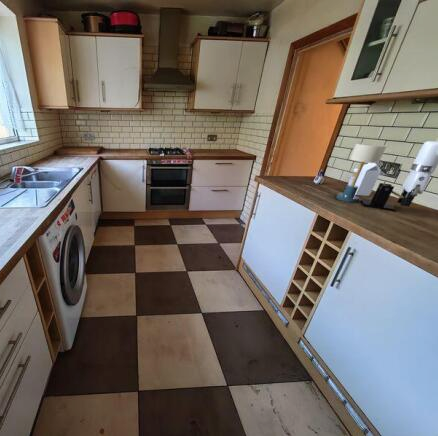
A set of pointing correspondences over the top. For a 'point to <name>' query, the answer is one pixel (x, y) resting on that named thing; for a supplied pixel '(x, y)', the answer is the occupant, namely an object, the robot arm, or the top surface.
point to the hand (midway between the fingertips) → (403, 204)
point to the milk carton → (367, 179)
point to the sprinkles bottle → (353, 176)
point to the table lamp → (362, 154)
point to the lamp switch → (397, 195)
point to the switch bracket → (380, 198)
